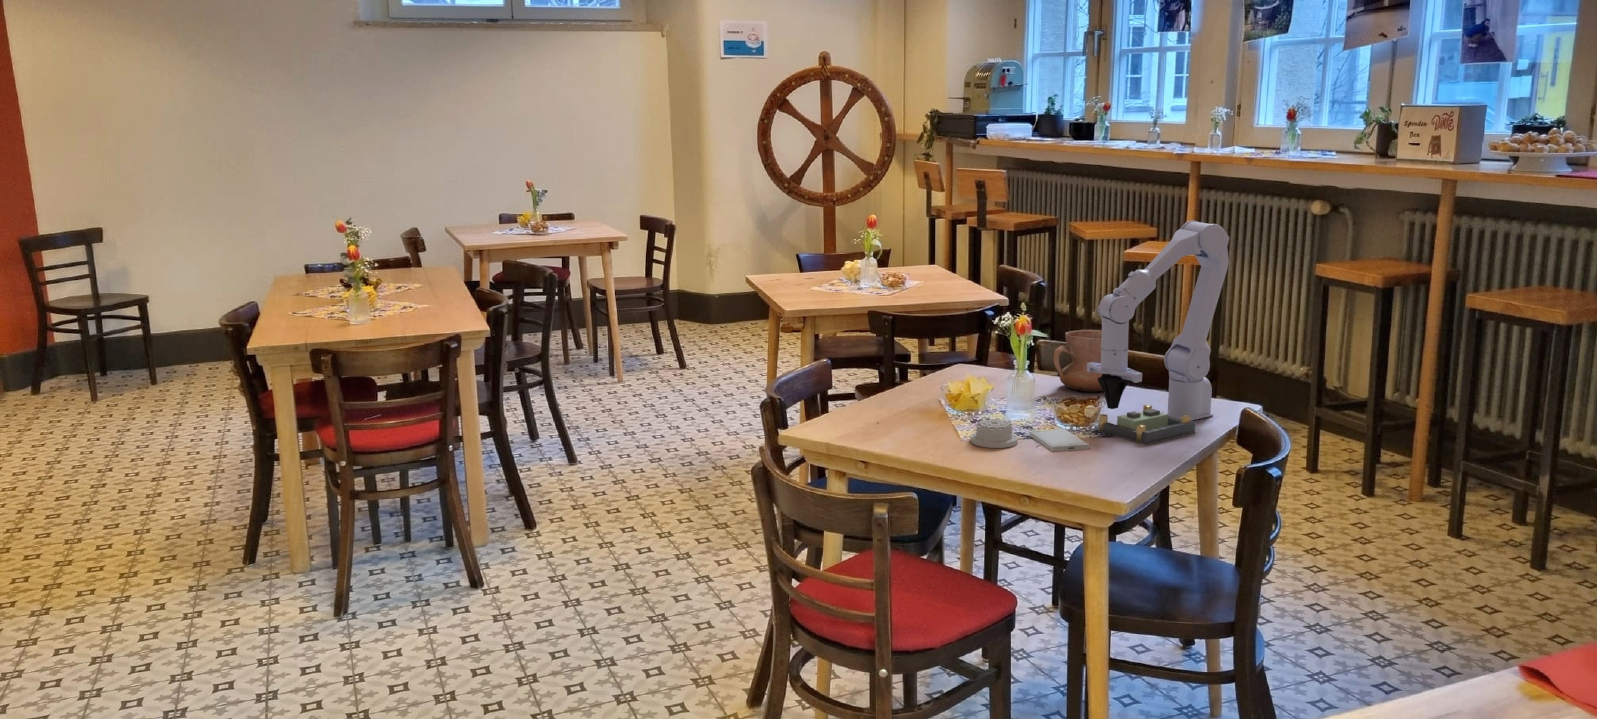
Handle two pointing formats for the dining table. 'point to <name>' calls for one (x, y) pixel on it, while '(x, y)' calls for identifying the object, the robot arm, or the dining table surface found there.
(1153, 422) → the green block
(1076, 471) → the dining table surface
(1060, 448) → the hard drive
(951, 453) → the dining table surface
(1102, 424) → the tray
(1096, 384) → the ceramic jug
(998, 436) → the gray cake
